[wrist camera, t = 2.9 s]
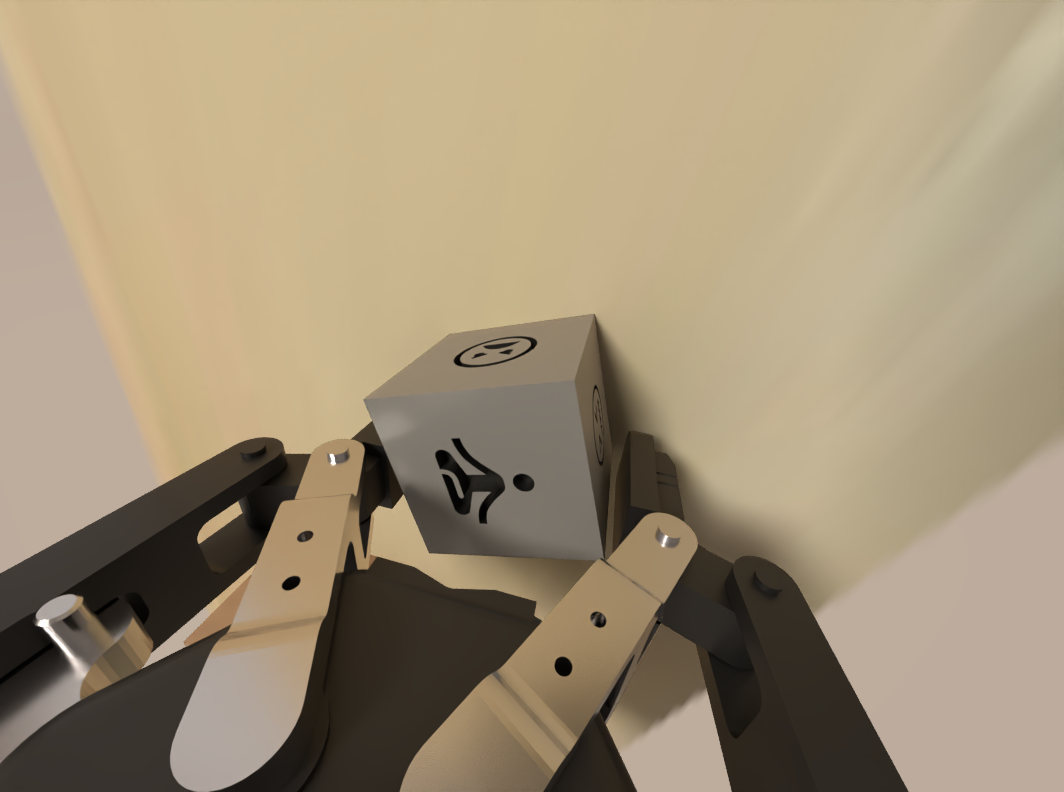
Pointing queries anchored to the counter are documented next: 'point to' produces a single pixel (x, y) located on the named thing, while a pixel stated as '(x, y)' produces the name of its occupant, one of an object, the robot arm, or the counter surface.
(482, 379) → the dice cube
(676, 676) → the counter surface
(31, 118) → the counter surface
